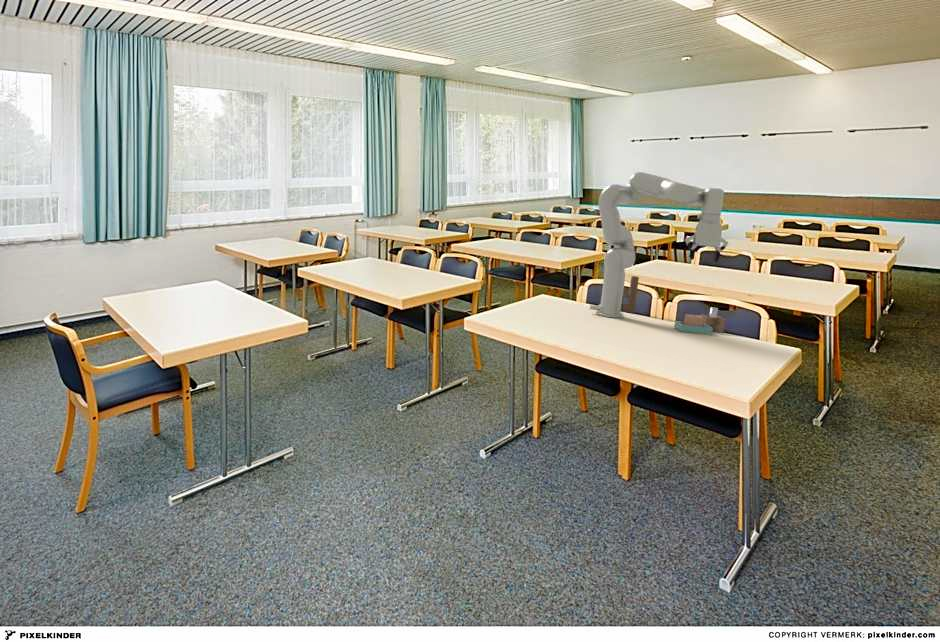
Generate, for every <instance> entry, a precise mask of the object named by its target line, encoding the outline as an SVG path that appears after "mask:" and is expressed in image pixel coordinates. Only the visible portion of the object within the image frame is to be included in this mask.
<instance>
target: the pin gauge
mask: <svg viewBox="0 0 940 642" xmlns="http://www.w3.org/2000/svg"><path fill="white" fill-rule="evenodd" d="M709 309H710V310H709V314H708V315H709V317H712V318H717V316H718V311H719V310H718V309H719V308H718V307H713V306H711V307H710V308H709Z"/></svg>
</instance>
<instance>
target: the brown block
mask: <svg viewBox="0 0 940 642" xmlns="http://www.w3.org/2000/svg"><path fill="white" fill-rule="evenodd" d="M709 315H710V314H700V316H701V317H703V318H704V320H703V324H707V325H709V326H710V327H712V328H713V331H715V332H714V333H720V334H721V333H724V329H725V322H726V318H723V317H722V316H720V315H717V318H712V317H709Z"/></svg>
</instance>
